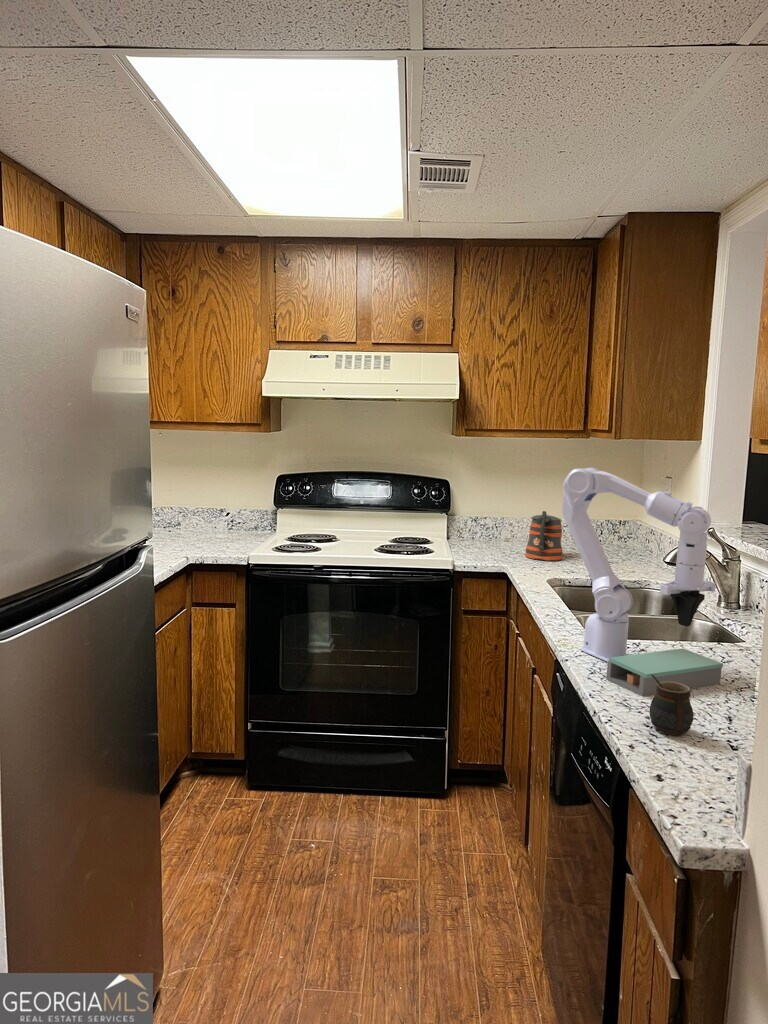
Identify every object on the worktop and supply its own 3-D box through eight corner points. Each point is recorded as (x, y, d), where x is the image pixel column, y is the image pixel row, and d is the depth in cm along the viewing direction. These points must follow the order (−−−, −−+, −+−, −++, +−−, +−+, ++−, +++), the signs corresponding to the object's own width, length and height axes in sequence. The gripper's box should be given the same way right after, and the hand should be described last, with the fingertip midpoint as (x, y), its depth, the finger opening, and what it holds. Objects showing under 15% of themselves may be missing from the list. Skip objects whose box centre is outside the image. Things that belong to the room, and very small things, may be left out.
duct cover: (608, 661, 153) (608, 657, 153) (682, 651, 162) (683, 648, 162) (646, 678, 144) (646, 674, 143) (722, 667, 153) (723, 663, 153)
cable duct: (604, 678, 154) (605, 660, 153) (679, 667, 163) (681, 651, 163) (642, 696, 144) (644, 677, 144) (719, 684, 154) (721, 666, 154)
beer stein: (561, 565, 281) (566, 513, 279) (523, 561, 285) (527, 510, 282) (562, 556, 300) (566, 508, 297) (525, 553, 303) (529, 505, 301)
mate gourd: (700, 739, 125) (705, 683, 124) (657, 739, 124) (662, 682, 123) (680, 722, 132) (685, 668, 131) (639, 721, 132) (644, 668, 130)
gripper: (681, 568, 151) (674, 632, 153) (729, 565, 158) (723, 627, 160) (655, 562, 158) (649, 623, 159) (702, 559, 164) (696, 618, 166)
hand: (684, 625), depth 160 cm, fingers closed
